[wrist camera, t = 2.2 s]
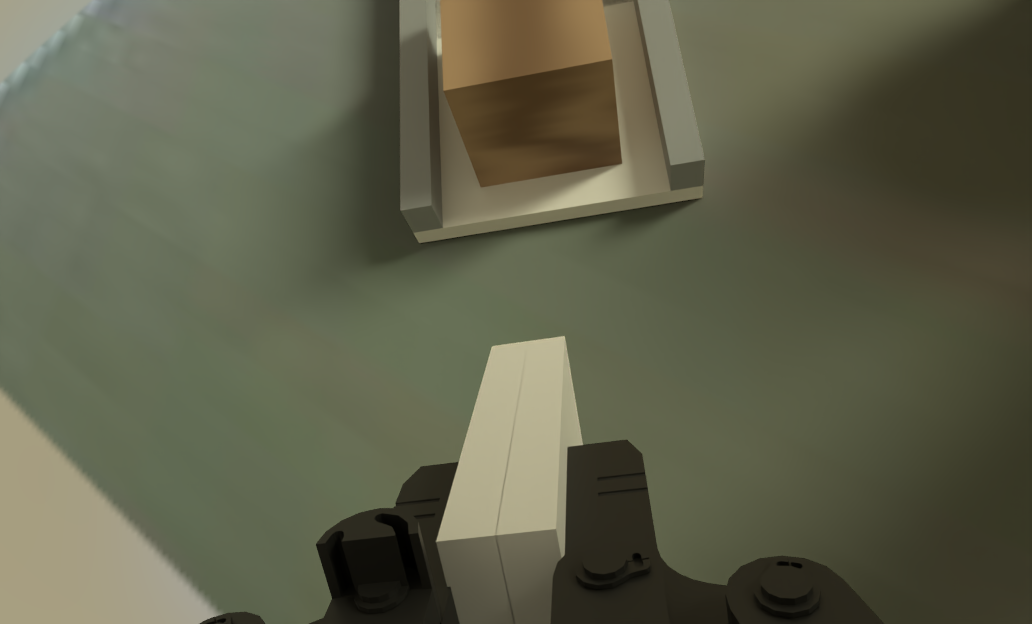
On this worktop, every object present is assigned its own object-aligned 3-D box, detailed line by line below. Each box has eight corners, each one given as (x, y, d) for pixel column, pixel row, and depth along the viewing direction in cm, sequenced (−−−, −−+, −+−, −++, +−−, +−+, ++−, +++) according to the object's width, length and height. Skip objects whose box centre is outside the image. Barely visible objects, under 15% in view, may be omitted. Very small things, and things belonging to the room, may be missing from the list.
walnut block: (597, 14, 41) (584, -103, 35) (622, 163, 37) (612, 59, 31) (471, 39, 42) (437, -71, 36) (481, 187, 38) (443, 90, 32)
